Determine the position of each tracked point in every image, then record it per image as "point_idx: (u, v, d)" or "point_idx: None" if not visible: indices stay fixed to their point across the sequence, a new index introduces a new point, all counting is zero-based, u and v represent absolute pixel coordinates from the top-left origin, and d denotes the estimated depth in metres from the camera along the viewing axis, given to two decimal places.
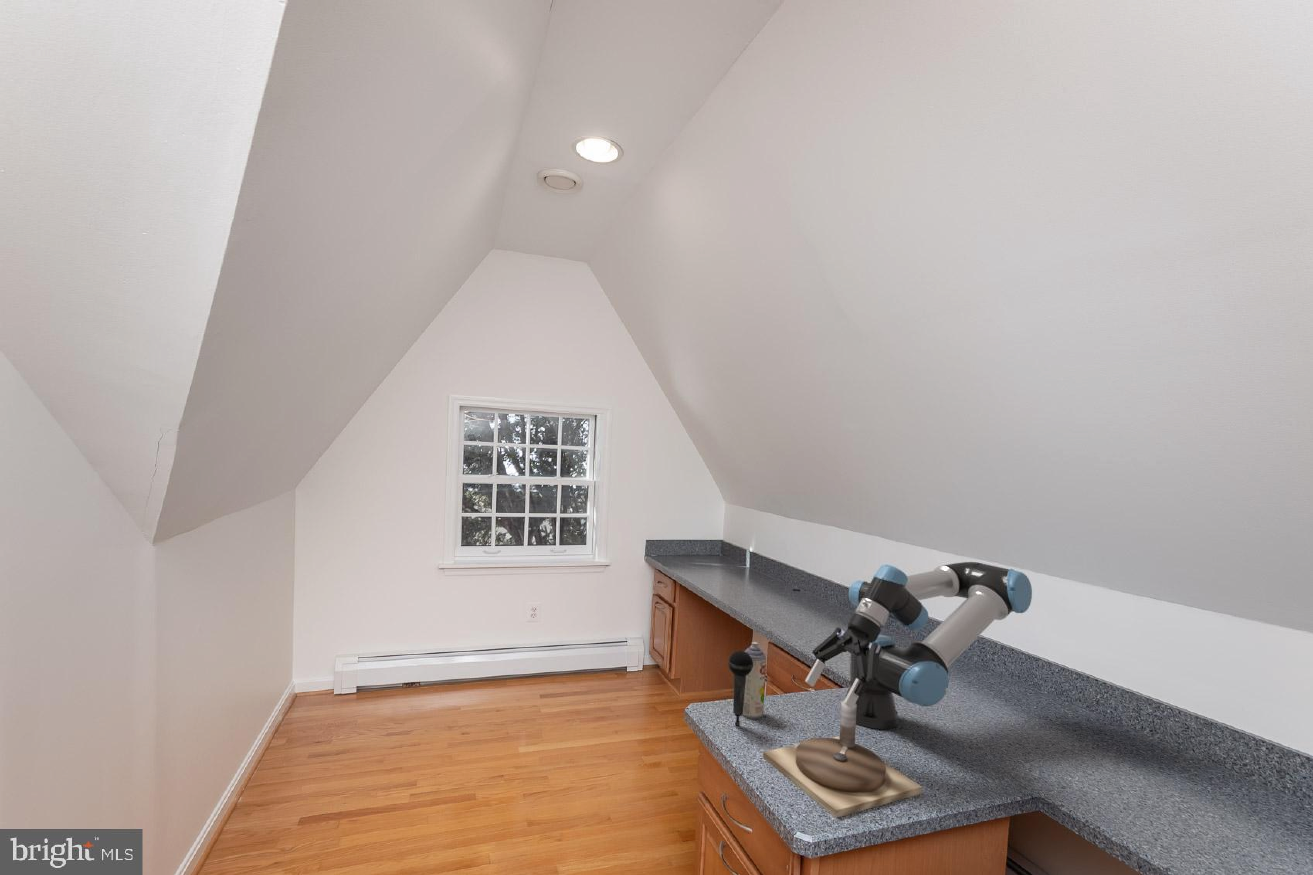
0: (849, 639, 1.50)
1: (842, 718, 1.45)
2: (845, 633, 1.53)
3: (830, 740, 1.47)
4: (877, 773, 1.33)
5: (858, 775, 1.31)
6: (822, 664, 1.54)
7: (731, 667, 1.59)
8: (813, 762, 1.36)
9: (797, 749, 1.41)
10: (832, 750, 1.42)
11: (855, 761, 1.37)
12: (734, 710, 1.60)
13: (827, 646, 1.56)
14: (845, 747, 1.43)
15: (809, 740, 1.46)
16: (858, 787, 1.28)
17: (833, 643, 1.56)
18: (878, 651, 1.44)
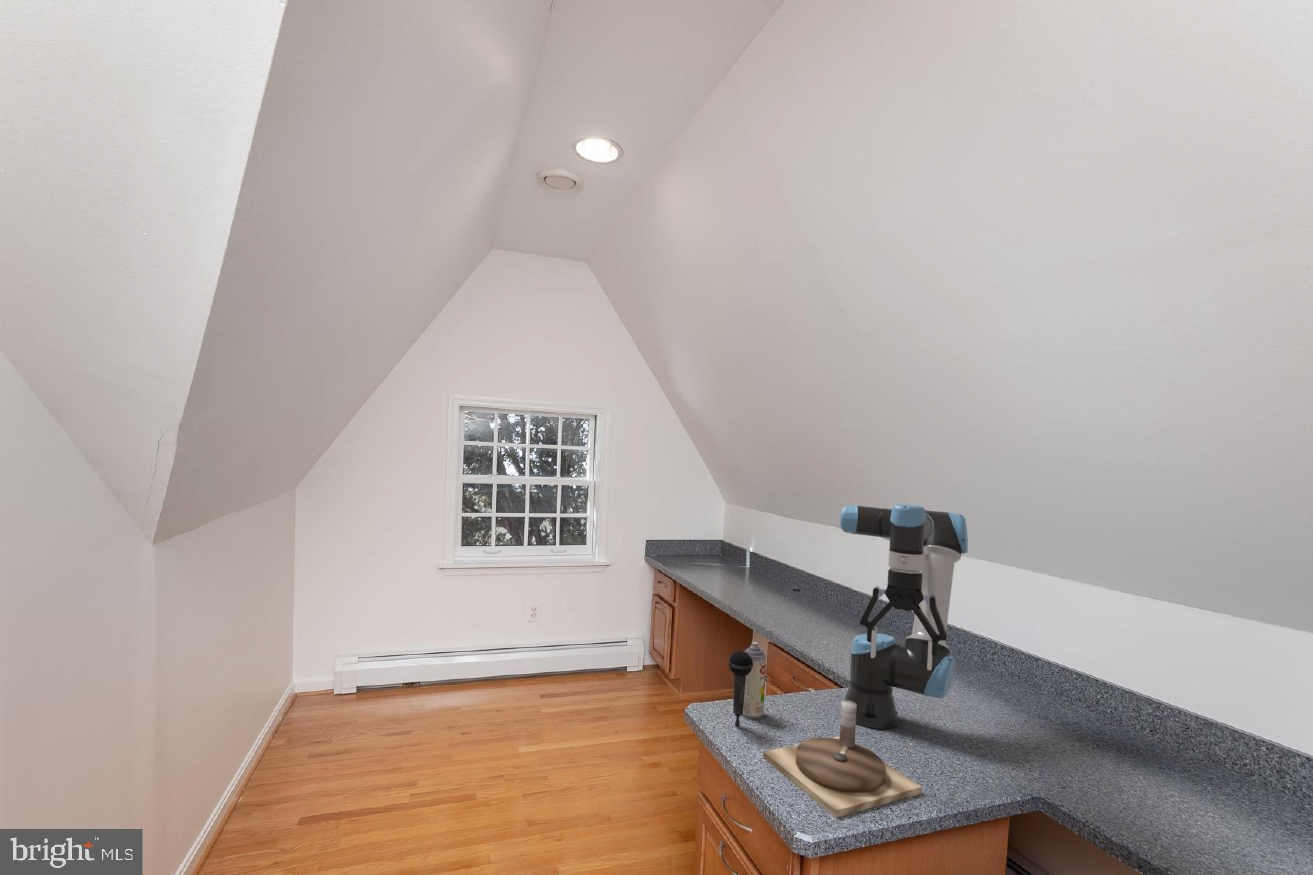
0: (899, 599, 1.40)
1: (842, 718, 1.45)
2: (888, 592, 1.41)
3: (830, 740, 1.47)
4: (877, 773, 1.33)
5: (858, 775, 1.31)
6: (876, 631, 1.43)
7: (731, 667, 1.59)
8: (813, 762, 1.36)
9: (797, 749, 1.41)
10: (832, 750, 1.42)
11: (855, 761, 1.37)
12: (734, 710, 1.60)
13: (871, 610, 1.44)
14: (845, 747, 1.43)
15: (809, 740, 1.46)
16: (858, 787, 1.28)
17: None
18: (935, 602, 1.37)
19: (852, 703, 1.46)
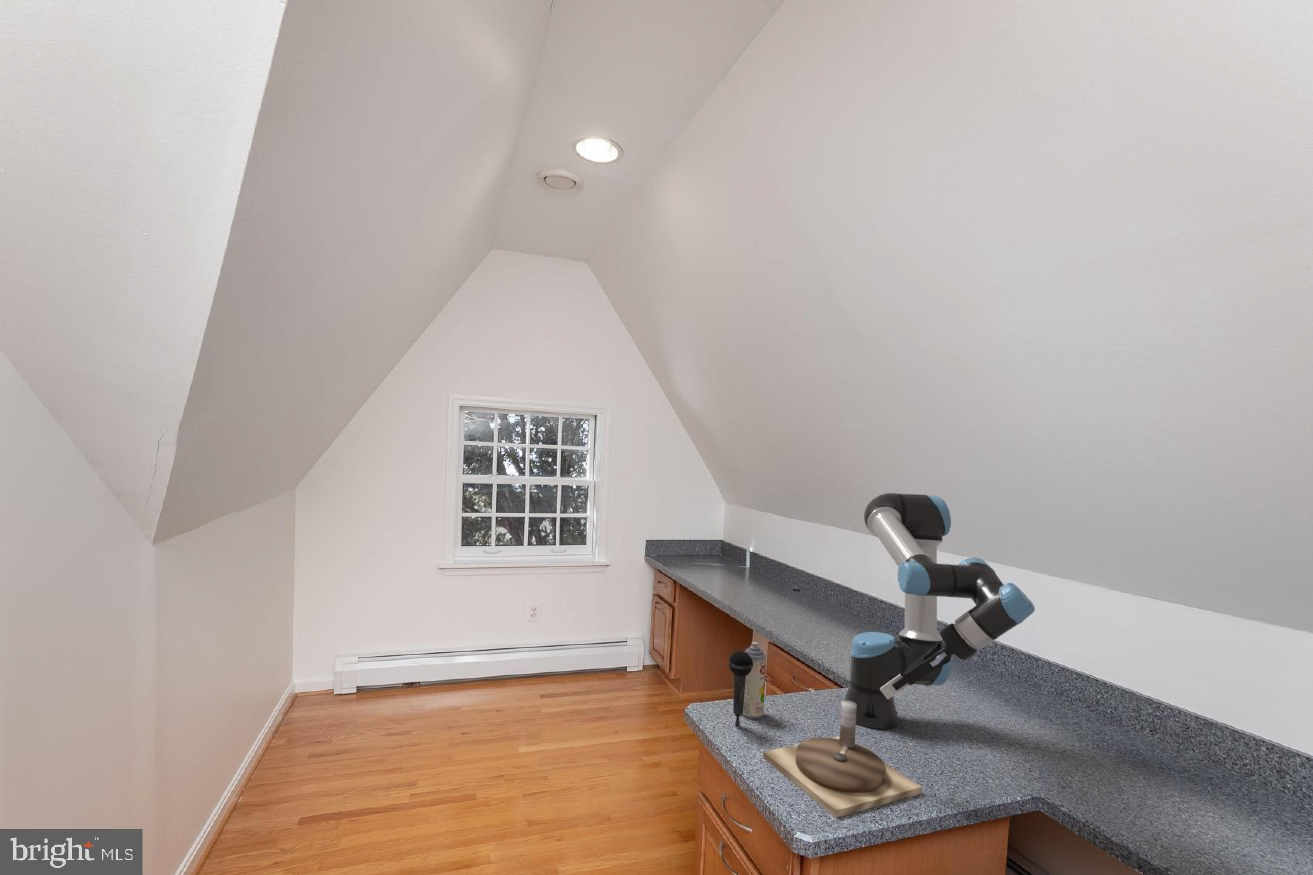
0: None
1: (842, 718, 1.45)
2: (946, 659, 1.31)
3: (830, 740, 1.47)
4: (877, 773, 1.33)
5: (858, 775, 1.31)
6: None
7: (731, 667, 1.59)
8: (813, 762, 1.36)
9: (797, 749, 1.41)
10: (832, 750, 1.42)
11: (855, 761, 1.37)
12: (734, 710, 1.60)
13: None
14: (845, 747, 1.43)
15: (809, 740, 1.46)
16: (858, 787, 1.28)
17: None
18: None
19: (852, 703, 1.46)
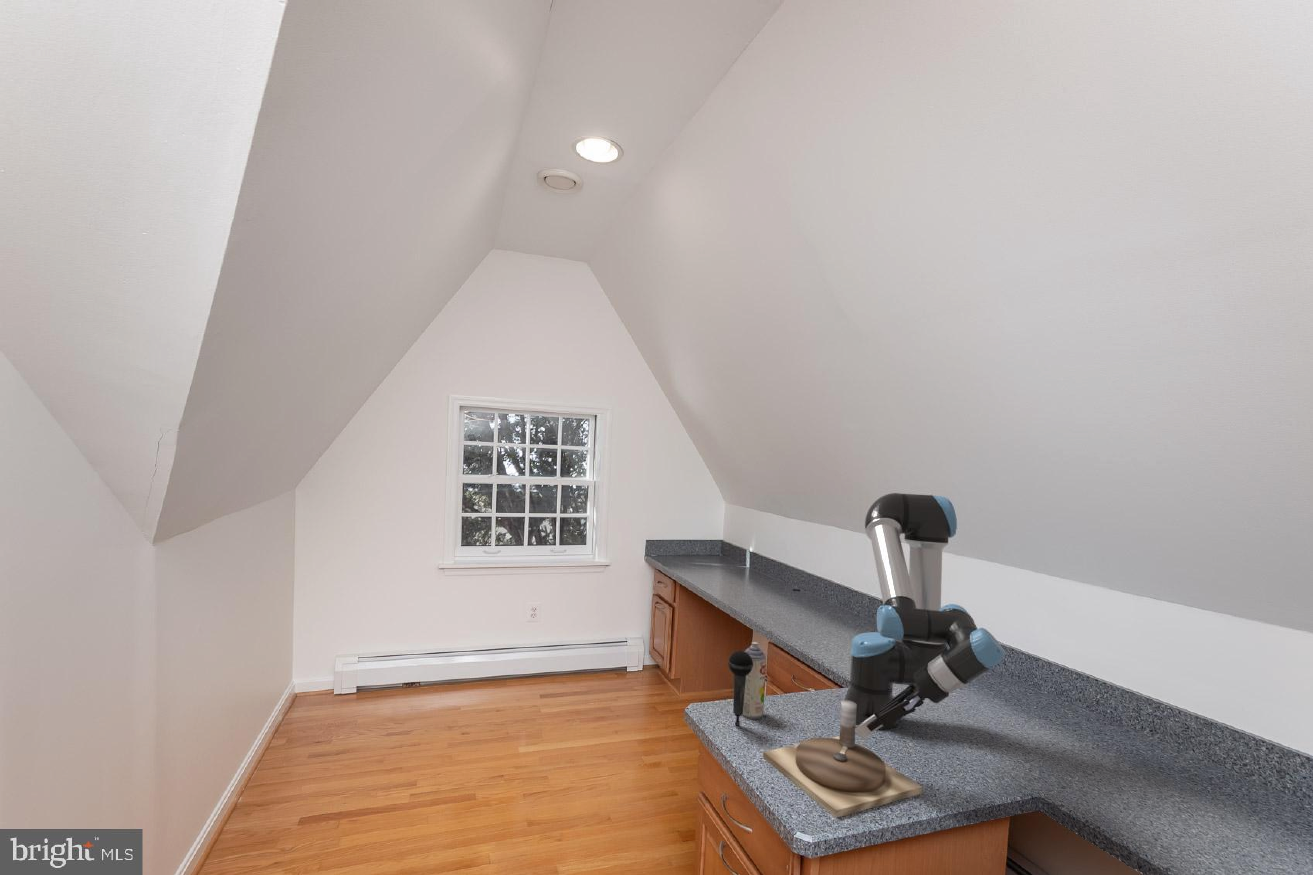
0: None
1: (842, 718, 1.45)
2: None
3: (830, 740, 1.47)
4: (877, 773, 1.33)
5: (858, 775, 1.31)
6: None
7: (731, 667, 1.59)
8: (813, 762, 1.36)
9: (797, 749, 1.41)
10: (832, 750, 1.42)
11: (855, 761, 1.37)
12: (734, 710, 1.60)
13: None
14: (845, 747, 1.43)
15: (809, 740, 1.46)
16: (858, 787, 1.28)
17: None
18: None
19: (852, 703, 1.46)
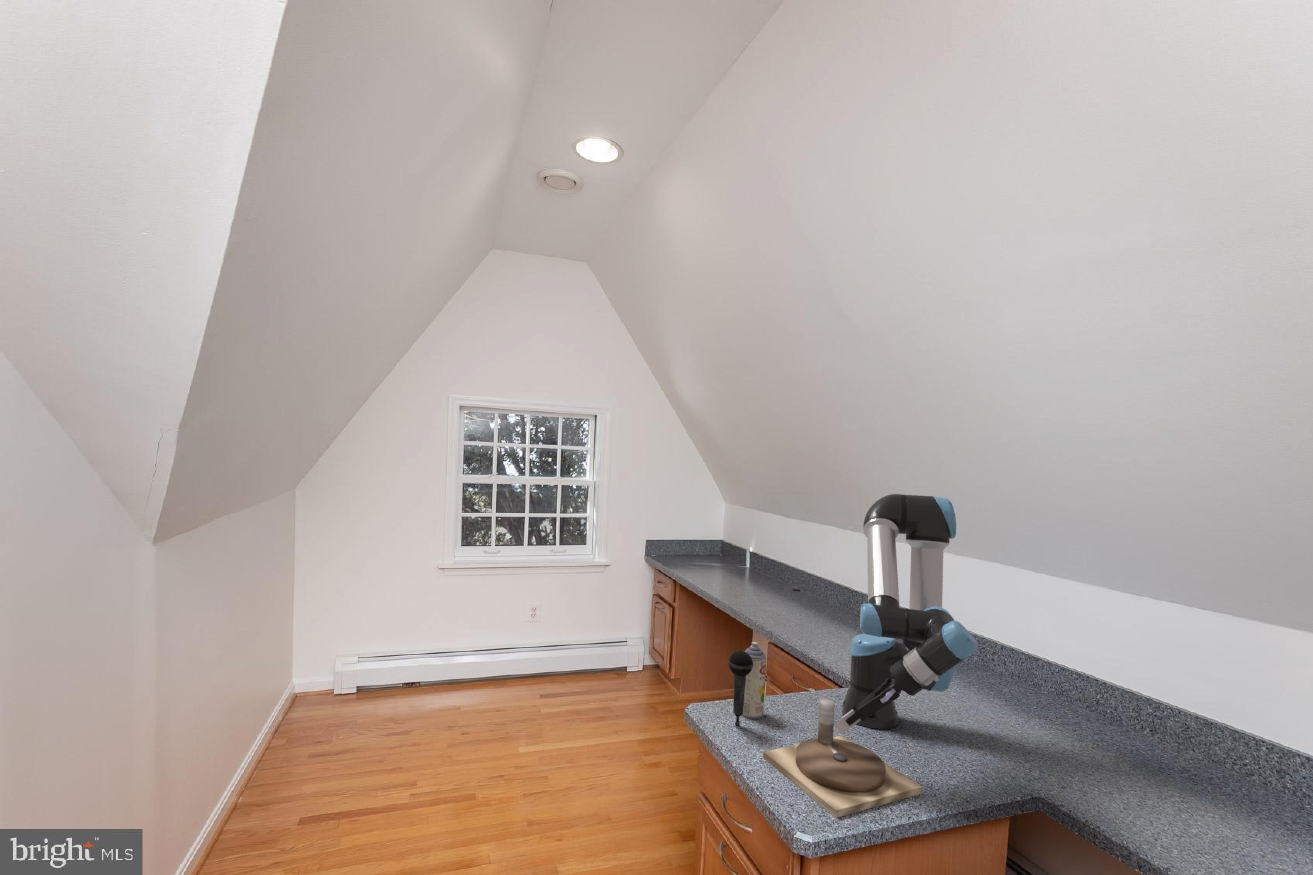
0: None
1: (824, 717, 1.45)
2: (895, 695, 1.36)
3: (810, 742, 1.45)
4: (878, 761, 1.38)
5: (872, 770, 1.34)
6: None
7: (731, 667, 1.59)
8: (830, 771, 1.32)
9: (804, 763, 1.35)
10: (825, 752, 1.40)
11: (851, 756, 1.39)
12: (734, 710, 1.60)
13: None
14: (829, 745, 1.44)
15: (798, 749, 1.41)
16: (880, 782, 1.31)
17: None
18: None
19: (828, 699, 1.47)
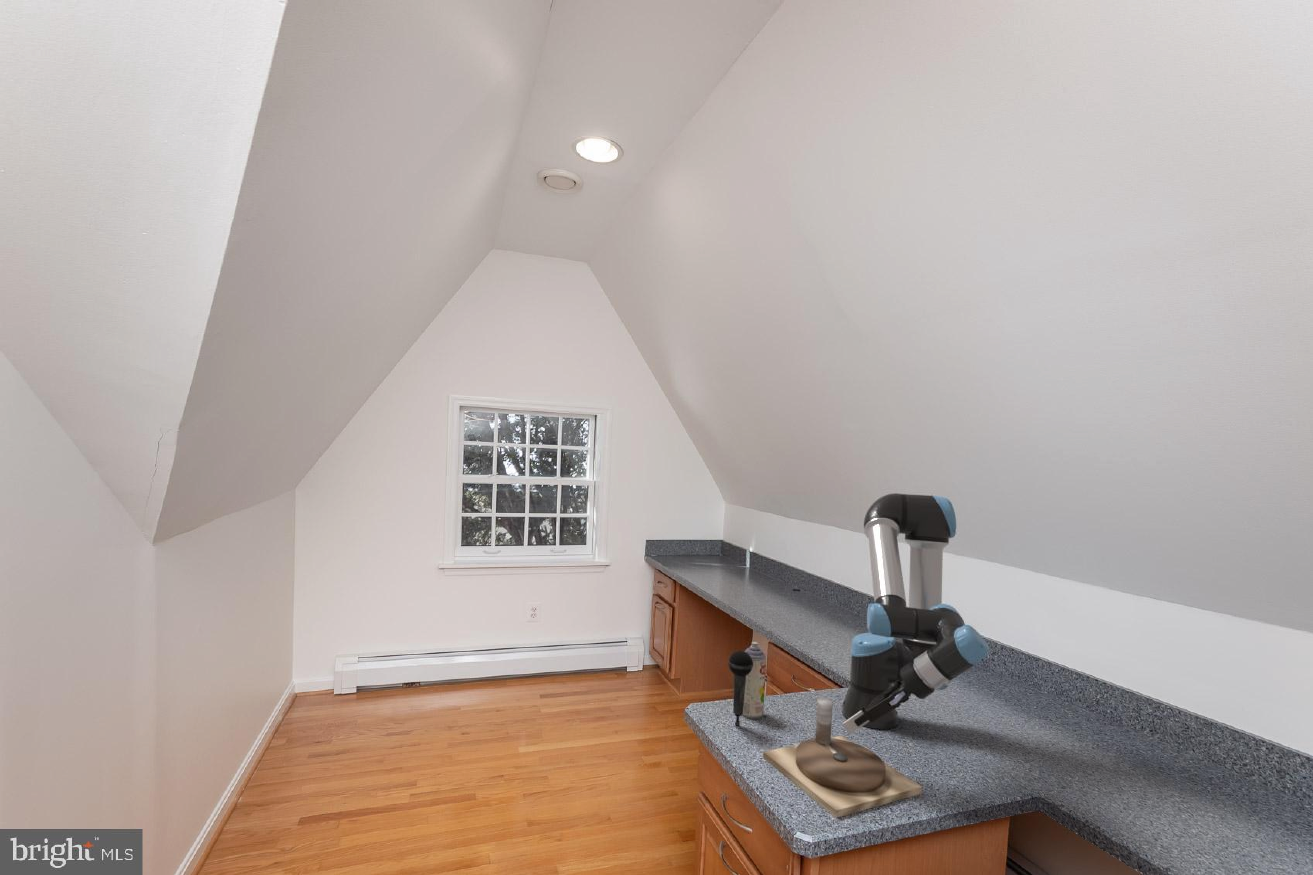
0: None
1: (823, 717, 1.45)
2: (905, 698, 1.35)
3: (808, 743, 1.45)
4: (877, 759, 1.39)
5: (872, 769, 1.34)
6: None
7: (731, 667, 1.59)
8: (833, 772, 1.32)
9: (805, 764, 1.34)
10: (824, 753, 1.40)
11: (851, 755, 1.40)
12: (734, 710, 1.60)
13: None
14: (827, 745, 1.44)
15: (798, 750, 1.41)
16: (882, 780, 1.31)
17: None
18: None
19: (826, 699, 1.47)
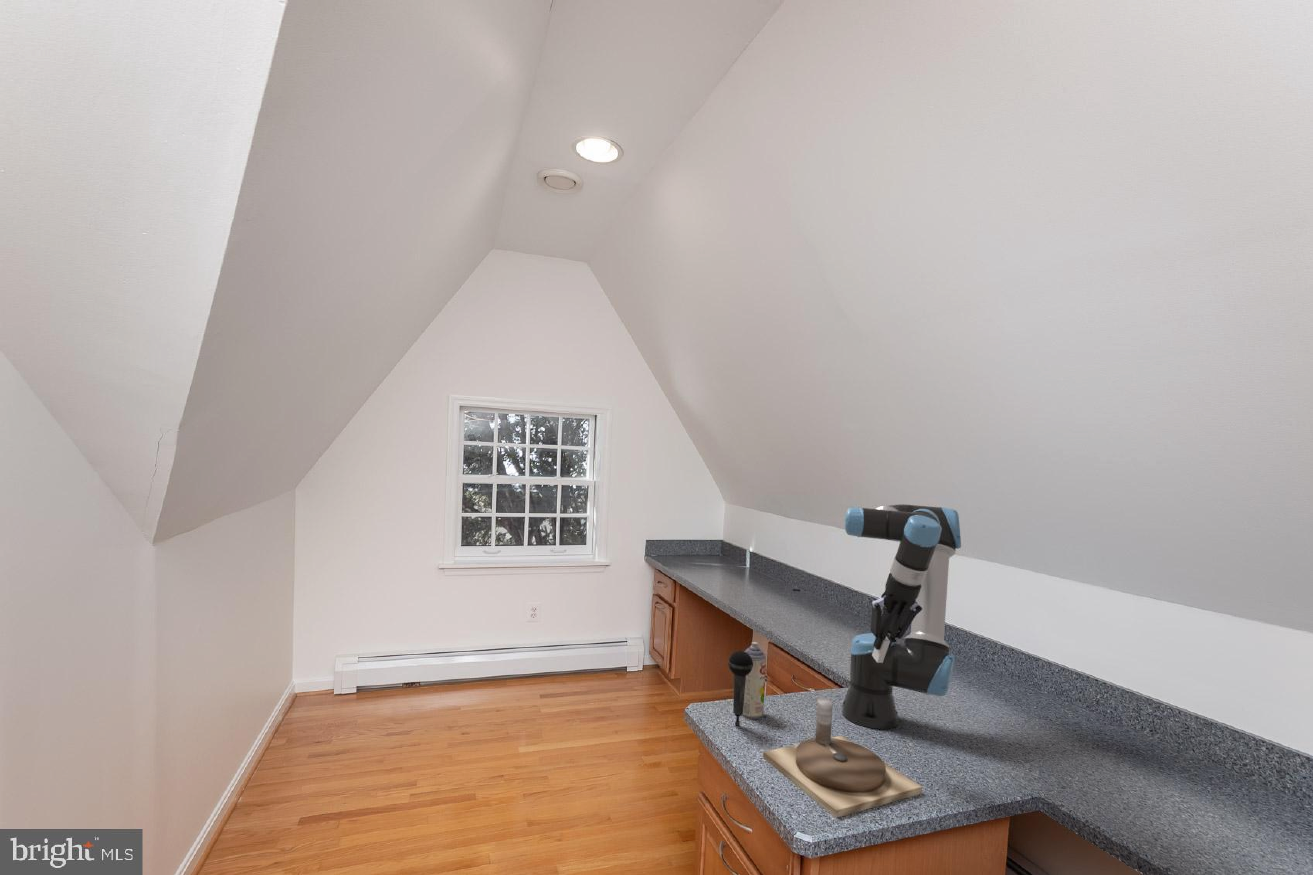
0: None
1: (823, 717, 1.45)
2: (888, 600, 1.42)
3: (808, 743, 1.45)
4: (877, 759, 1.39)
5: (872, 769, 1.34)
6: None
7: (731, 667, 1.59)
8: (833, 772, 1.32)
9: (805, 764, 1.34)
10: (824, 753, 1.40)
11: (851, 755, 1.40)
12: (734, 710, 1.60)
13: None
14: (827, 745, 1.44)
15: (798, 750, 1.41)
16: (882, 780, 1.31)
17: None
18: None
19: (826, 699, 1.47)
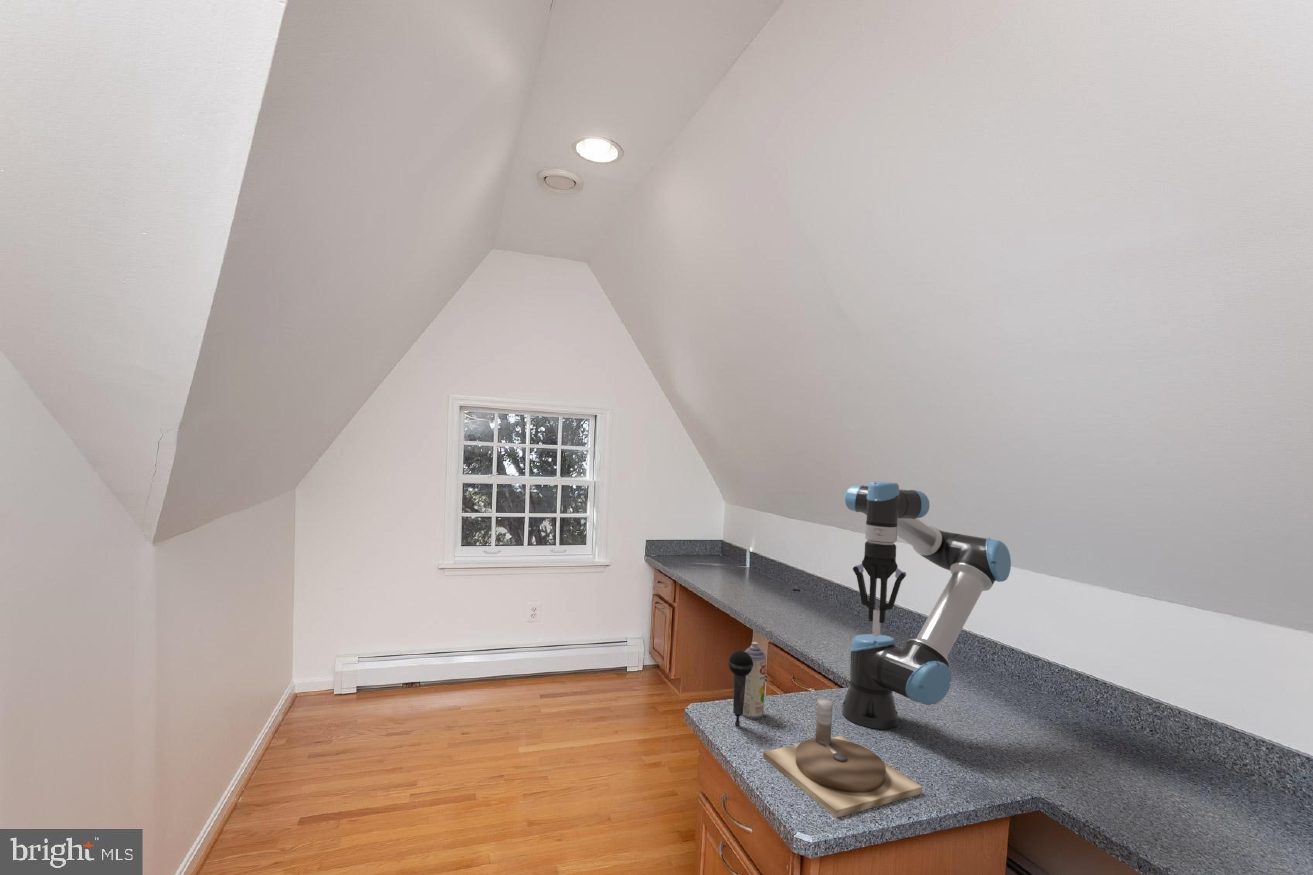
0: (875, 567, 1.51)
1: (823, 717, 1.45)
2: (865, 563, 1.52)
3: (808, 743, 1.45)
4: (877, 759, 1.39)
5: (872, 769, 1.34)
6: None
7: (731, 667, 1.59)
8: (833, 772, 1.32)
9: (805, 764, 1.34)
10: (824, 753, 1.40)
11: (851, 755, 1.40)
12: (734, 710, 1.60)
13: (864, 587, 1.53)
14: (827, 745, 1.44)
15: (798, 750, 1.41)
16: (882, 780, 1.31)
17: (863, 580, 1.54)
18: None
19: (826, 699, 1.47)
